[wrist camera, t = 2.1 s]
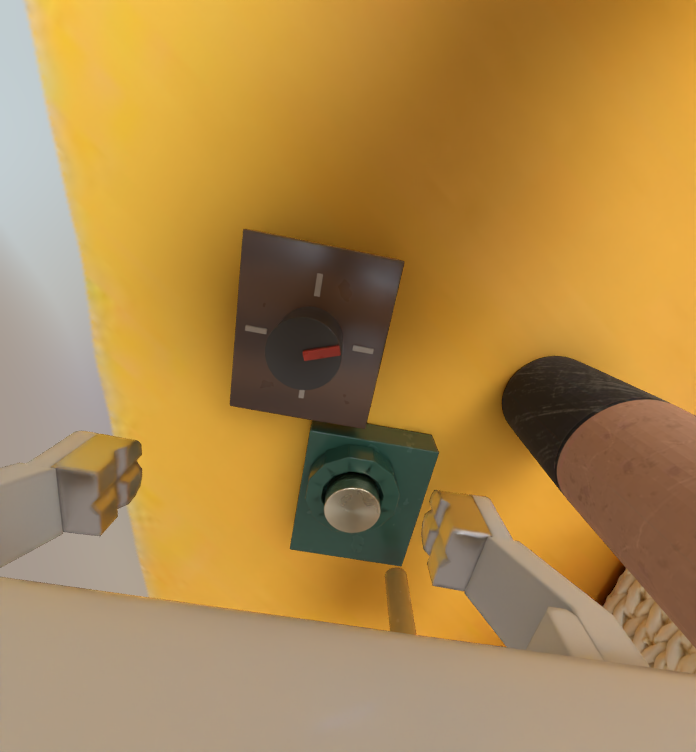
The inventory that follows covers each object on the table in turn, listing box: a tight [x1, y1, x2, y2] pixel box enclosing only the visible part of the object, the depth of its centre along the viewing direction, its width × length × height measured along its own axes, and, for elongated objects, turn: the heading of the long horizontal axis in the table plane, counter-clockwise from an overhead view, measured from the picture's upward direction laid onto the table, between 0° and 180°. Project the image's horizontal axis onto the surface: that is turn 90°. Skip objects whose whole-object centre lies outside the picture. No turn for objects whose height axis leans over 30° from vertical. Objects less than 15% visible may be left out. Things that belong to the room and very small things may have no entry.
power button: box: [324, 473, 380, 533], centre depth 25 cm, size 4×4×2 cm
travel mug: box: [502, 356, 696, 648], centre depth 18 cm, size 8×8×20 cm
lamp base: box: [290, 420, 439, 566], centre depth 29 cm, size 12×10×4 cm
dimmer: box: [230, 229, 404, 429], centre depth 25 cm, size 12×10×3 cm
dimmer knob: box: [265, 307, 343, 390], centre depth 21 cm, size 4×4×4 cm
